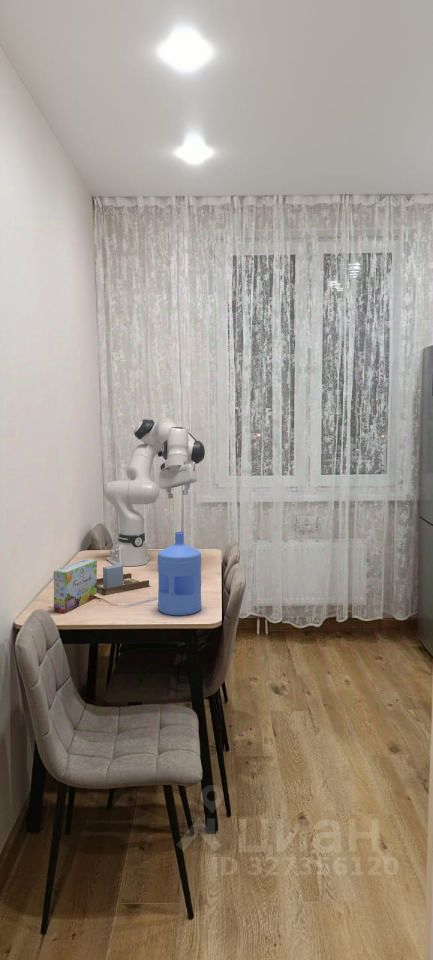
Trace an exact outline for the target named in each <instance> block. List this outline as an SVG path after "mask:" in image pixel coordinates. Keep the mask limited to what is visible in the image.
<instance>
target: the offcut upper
mask: <svg viewBox="0 0 433 960" xmlns="http://www.w3.org/2000/svg"><path fill="white" fill-rule="evenodd" d="M135 582H140V580H138V579H135V578H132V579H131V578H128V579H124V580H123V585H124V584H130V583H135Z"/></svg>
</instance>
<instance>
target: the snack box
mask: <svg viewBox="0 0 433 960" xmlns="http://www.w3.org/2000/svg"><path fill="white" fill-rule="evenodd" d="M97 563H98V560H97V559H91V558H84V559H81V560H79V561H76V562H74V563H71V564H68V565H65V566H63V567H60V568H58V569H55V570H54V571H53V612H57V613H62V614H67V613H69V612H70V611H72V610H74V609H76V608H79V607H80V606H82V605H84V604H86V603H89V602H91V601H93V600H94V599H97V597H98V596H97V594H98V593H97V579H98V578H97V577H98V571H97V570H98V569H97V567H98V566H97V565H98V564H97Z"/></svg>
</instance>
